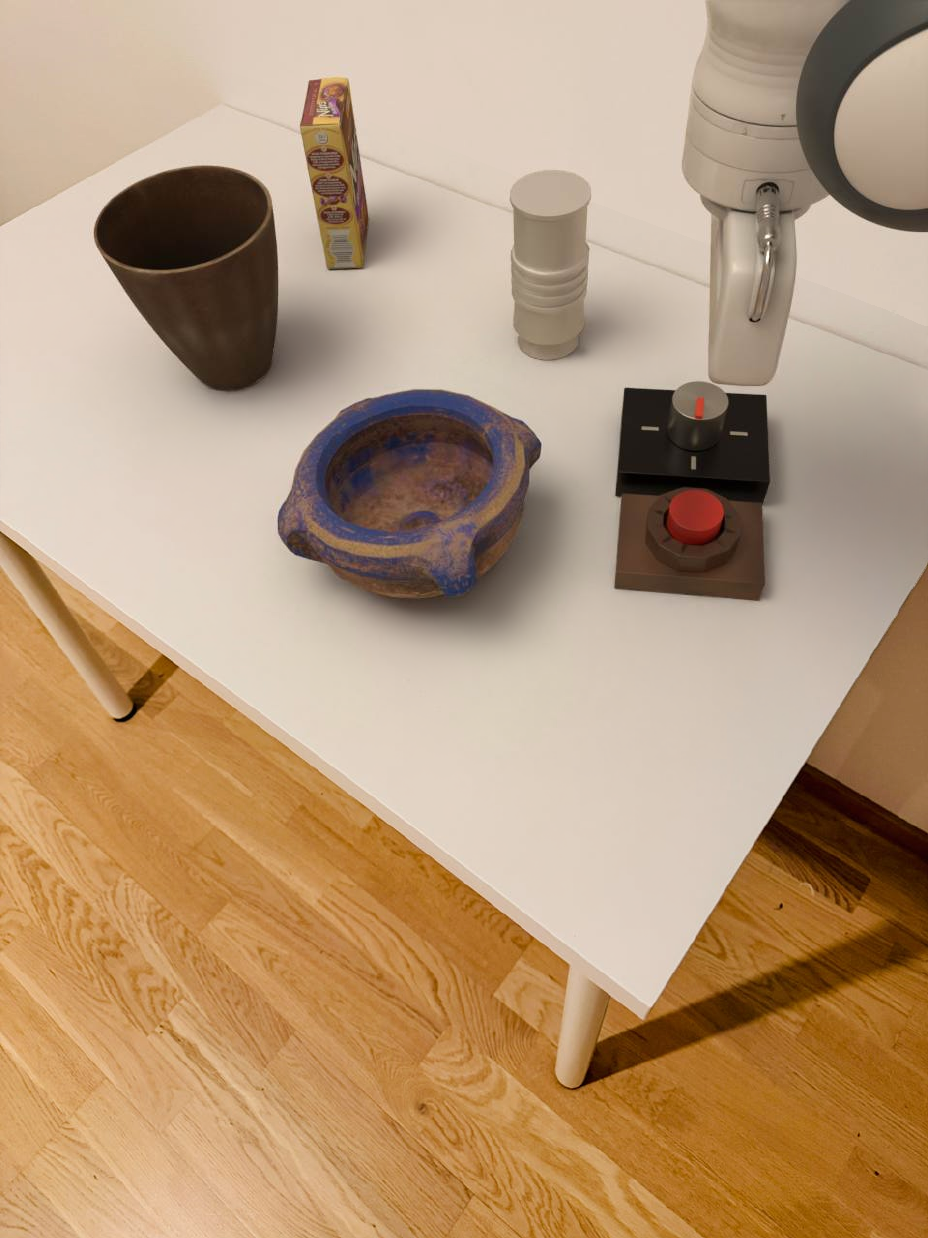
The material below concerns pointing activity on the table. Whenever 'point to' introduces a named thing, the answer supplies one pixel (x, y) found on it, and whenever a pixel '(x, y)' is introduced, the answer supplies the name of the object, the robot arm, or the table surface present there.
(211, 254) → the flower pot
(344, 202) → the candy box
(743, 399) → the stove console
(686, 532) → the igniter button
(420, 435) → the bowl
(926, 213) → the robot arm
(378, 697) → the table surface
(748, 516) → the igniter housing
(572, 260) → the beige ribbed cylinder
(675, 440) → the knob
